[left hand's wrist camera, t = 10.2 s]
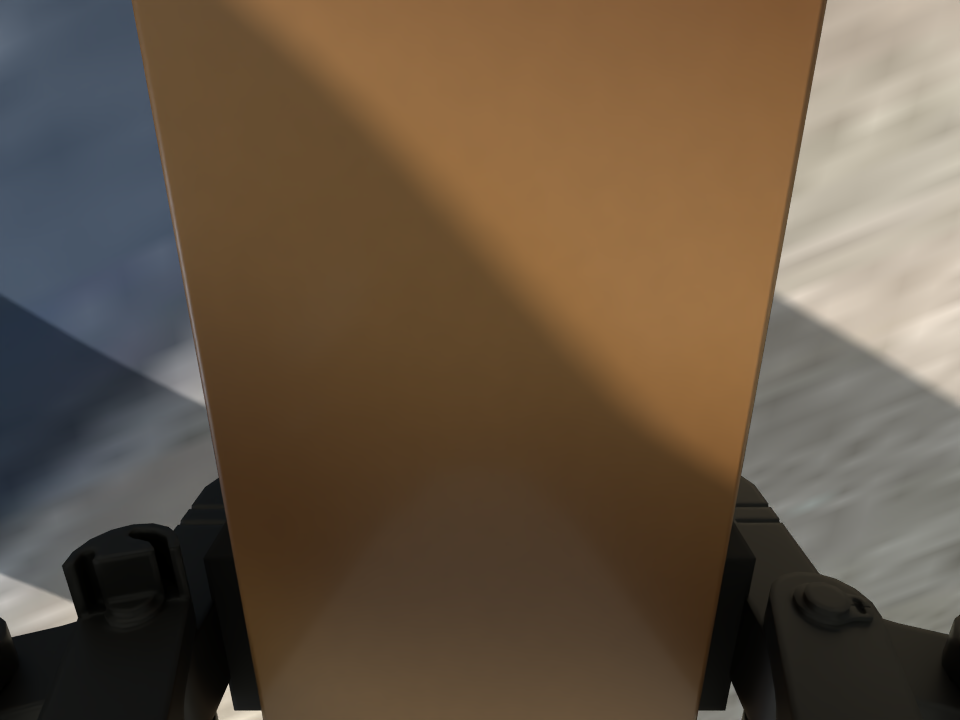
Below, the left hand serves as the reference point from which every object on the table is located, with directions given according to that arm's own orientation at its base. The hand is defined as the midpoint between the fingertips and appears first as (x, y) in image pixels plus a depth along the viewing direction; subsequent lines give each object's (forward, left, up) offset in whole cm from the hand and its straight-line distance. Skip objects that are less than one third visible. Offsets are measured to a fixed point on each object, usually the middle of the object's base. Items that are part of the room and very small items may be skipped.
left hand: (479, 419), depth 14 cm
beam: (+11, +34, -1) cm, 36 cm away
